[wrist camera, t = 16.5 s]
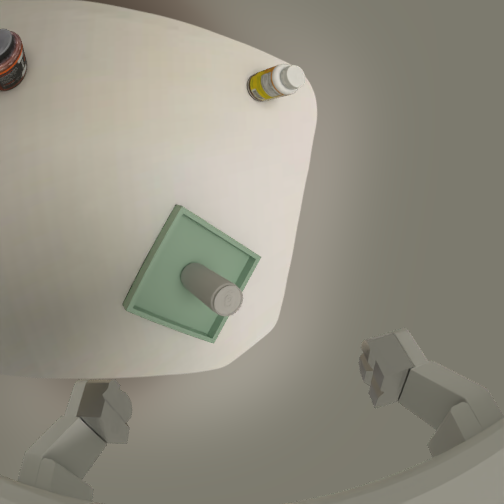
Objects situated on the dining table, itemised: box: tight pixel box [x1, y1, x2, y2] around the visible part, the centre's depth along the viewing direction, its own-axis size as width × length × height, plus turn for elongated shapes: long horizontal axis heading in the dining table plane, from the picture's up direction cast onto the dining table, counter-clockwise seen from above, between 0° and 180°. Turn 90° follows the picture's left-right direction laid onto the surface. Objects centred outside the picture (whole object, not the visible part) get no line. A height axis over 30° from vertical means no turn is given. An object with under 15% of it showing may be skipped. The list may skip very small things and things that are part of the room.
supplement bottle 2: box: [248, 64, 305, 101], centre depth 46 cm, size 6×6×10 cm
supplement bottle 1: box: [0, 29, 27, 90], centre depth 22 cm, size 6×6×11 cm
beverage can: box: [181, 263, 243, 316], centre depth 46 cm, size 5×5×12 cm
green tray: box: [123, 205, 261, 343], centre depth 51 cm, size 18×18×3 cm
